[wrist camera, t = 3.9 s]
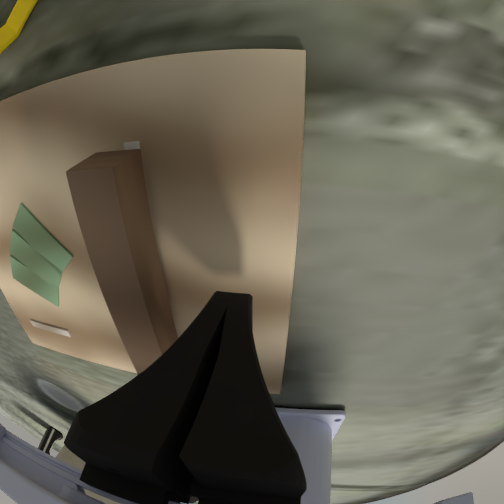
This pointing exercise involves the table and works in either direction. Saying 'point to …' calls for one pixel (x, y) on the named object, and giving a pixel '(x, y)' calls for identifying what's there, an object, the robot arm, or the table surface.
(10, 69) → the table surface
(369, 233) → the table surface
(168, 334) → the peg lever
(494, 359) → the table surface
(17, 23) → the watch
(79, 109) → the tan wooden board
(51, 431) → the battery charger
